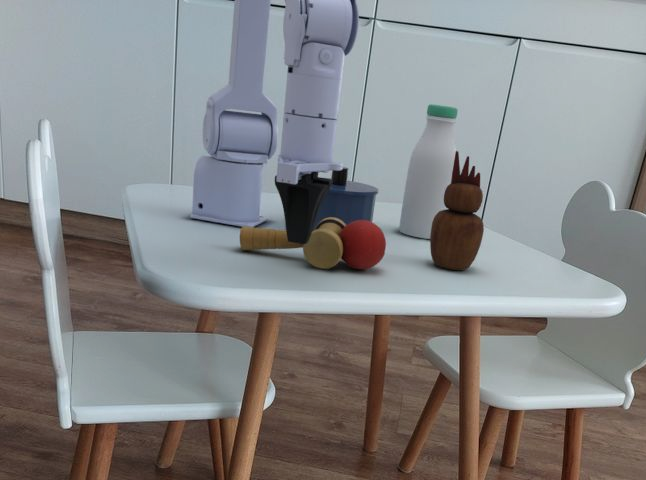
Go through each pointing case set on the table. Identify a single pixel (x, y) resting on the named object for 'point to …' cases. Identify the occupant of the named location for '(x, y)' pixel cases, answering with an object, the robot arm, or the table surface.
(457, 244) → the wooden figurine
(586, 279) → the table surface
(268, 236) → the kendama
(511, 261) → the table surface
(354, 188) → the pot lid
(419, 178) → the milk bottle
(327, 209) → the pot
